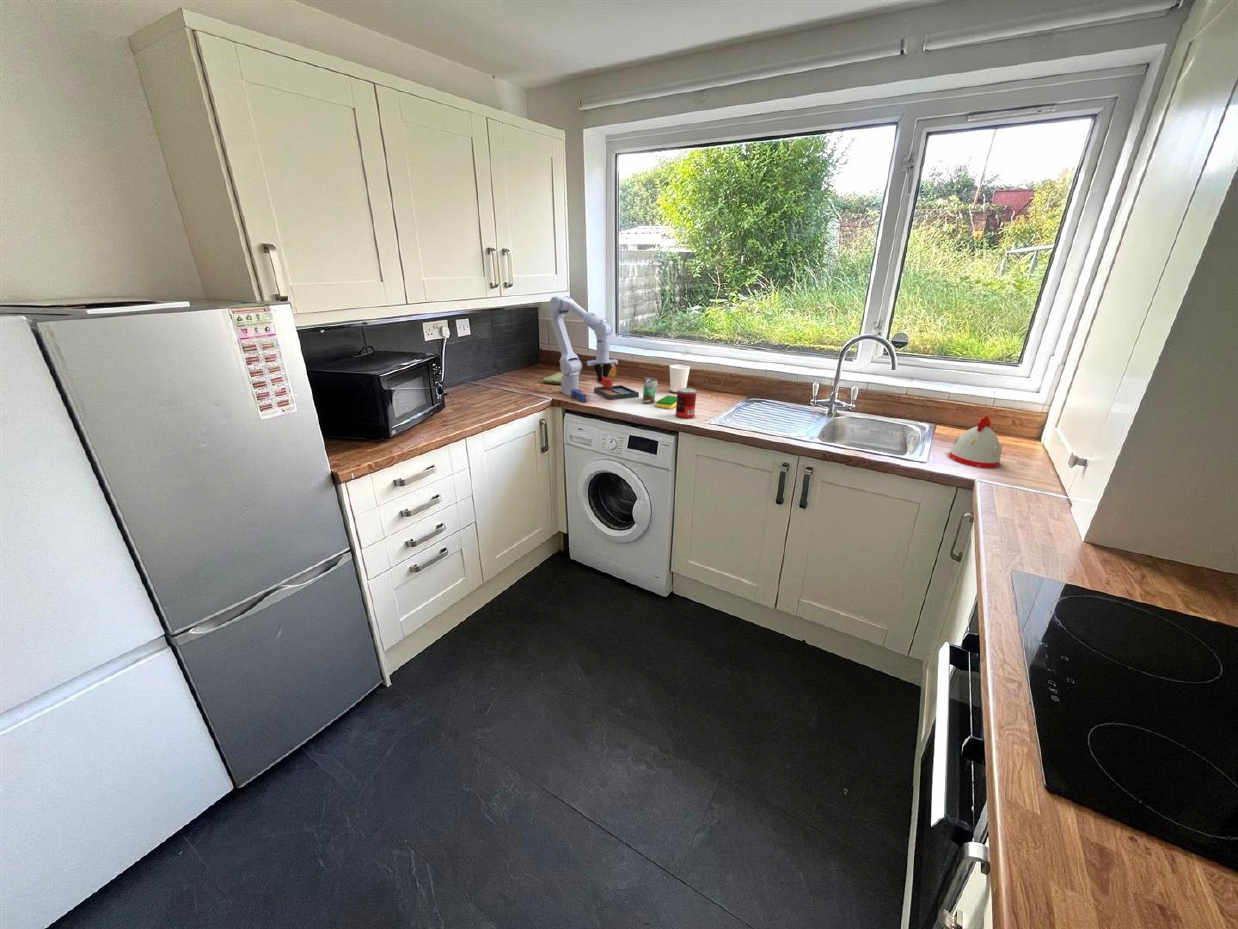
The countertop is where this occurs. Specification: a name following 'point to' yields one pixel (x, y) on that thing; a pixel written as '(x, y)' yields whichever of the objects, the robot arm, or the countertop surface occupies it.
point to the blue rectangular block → (578, 395)
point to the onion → (611, 372)
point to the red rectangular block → (606, 382)
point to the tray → (616, 392)
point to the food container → (649, 390)
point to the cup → (678, 377)
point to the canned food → (685, 402)
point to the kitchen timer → (977, 447)
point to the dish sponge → (667, 402)
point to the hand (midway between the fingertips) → (602, 380)
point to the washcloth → (553, 379)
